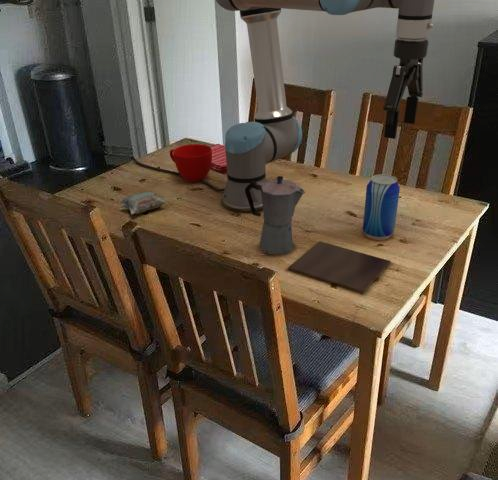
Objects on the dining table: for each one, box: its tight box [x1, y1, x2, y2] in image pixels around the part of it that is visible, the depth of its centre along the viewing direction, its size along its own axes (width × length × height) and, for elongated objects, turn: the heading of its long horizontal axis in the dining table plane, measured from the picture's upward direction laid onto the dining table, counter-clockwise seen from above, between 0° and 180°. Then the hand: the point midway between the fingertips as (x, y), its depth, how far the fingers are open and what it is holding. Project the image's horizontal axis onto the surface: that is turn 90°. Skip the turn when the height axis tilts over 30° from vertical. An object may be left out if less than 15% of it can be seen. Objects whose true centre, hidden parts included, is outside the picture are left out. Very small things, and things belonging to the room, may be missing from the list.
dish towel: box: [209, 143, 227, 174], centre depth 200 cm, size 17×24×3 cm
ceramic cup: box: [169, 143, 212, 183], centre depth 185 cm, size 13×17×10 cm
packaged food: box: [119, 190, 168, 216], centre depth 165 cm, size 9×12×5 cm
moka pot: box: [245, 175, 306, 256], centre depth 138 cm, size 10×15×20 cm, turn 78°
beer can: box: [362, 173, 401, 241], centre depth 143 cm, size 8×8×16 cm
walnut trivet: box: [287, 241, 391, 295], centre depth 134 cm, size 20×16×1 cm
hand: (399, 130), depth 137 cm, fingers open, 13 cm apart
